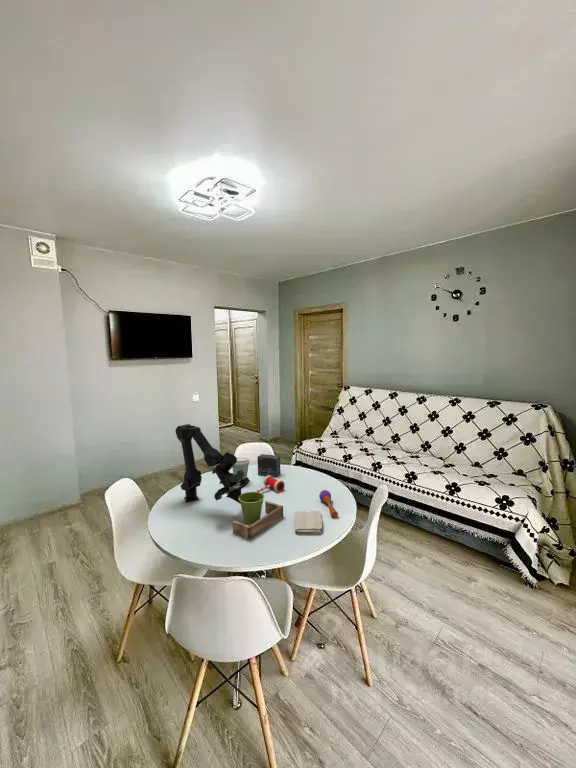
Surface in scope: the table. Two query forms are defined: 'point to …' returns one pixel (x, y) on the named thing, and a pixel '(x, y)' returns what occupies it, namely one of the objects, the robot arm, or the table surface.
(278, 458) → the small box
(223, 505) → the table surface
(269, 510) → the wooden frame
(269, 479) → the toy hammer
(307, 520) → the washcloth
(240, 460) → the disposable coffee cup
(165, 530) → the table surface
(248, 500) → the plant pot
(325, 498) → the kendama
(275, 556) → the table surface
